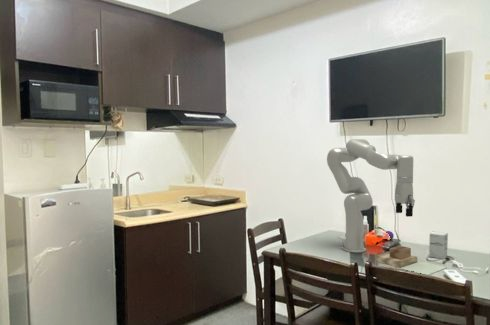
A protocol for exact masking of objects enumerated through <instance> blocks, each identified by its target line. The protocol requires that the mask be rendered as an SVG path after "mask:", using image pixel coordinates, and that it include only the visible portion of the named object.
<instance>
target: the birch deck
mask: <svg viewBox="0 0 490 325" xmlns="http://www.w3.org/2000/svg"><path fill="white" fill-rule="evenodd" d="M375 262H377V263H381V264H385V265H389V266H393V267H395V268H399V269H400V268H402V267H405V266H408V265H411V264H414V263H417V262H418V256H416V255H412V254H411V257H408V258H405V259H402V260H399V259H395V258H391V257H390V251H387V252H384V253H380V254H377V255H375Z"/></svg>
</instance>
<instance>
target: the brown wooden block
mask: <svg viewBox="0 0 490 325" xmlns="http://www.w3.org/2000/svg"><path fill="white" fill-rule="evenodd" d="M389 252H390V257H391V258H395V259H399V260H402V259H405V258H408V257H411V255H412V253H411V252H412V249H411V247H409V246H408V247H407V246H405V245H404V246H403V245H396V246H394V247H390V248H389Z"/></svg>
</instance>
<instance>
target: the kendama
mask: <svg viewBox="0 0 490 325" xmlns="http://www.w3.org/2000/svg"><path fill="white" fill-rule="evenodd" d="M385 232H386V233H388V234H389V236H390V238H391V239H392V240H393V239H394V233H393V232H392V231H391V230H386V231H385Z"/></svg>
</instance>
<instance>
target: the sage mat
mask: <svg viewBox="0 0 490 325" xmlns="http://www.w3.org/2000/svg"><path fill="white" fill-rule="evenodd" d="M399 269H400V270H402V269H403V271H406V270H408V271H407V272H410V271H414V272H418V273H422V274H427V275H428V276H431V275H432V274H435V273H438V272H441V271H444V270H446V269H447V267H446V266H442V265H437V264H432V263H429V262H424V261H417V263H414V264H411V265H408V266H405V267H402V268H400V267H399ZM443 269H444V270H443ZM414 272H413V273H414ZM418 273H417V274H418ZM422 274H421V275H422Z"/></svg>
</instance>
